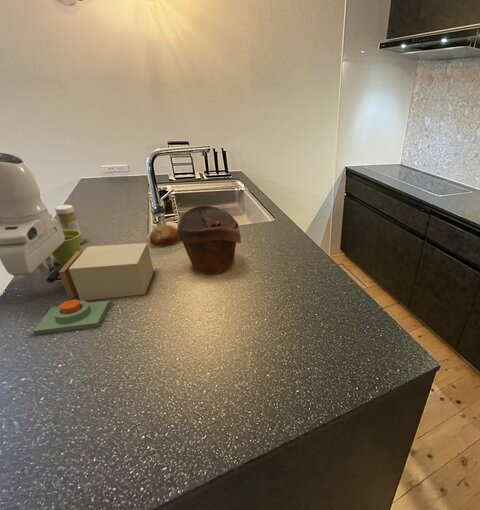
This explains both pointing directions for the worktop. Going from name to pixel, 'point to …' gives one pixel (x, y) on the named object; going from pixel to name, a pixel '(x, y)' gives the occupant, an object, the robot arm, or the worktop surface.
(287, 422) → the worktop surface
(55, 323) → the panel
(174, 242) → the bread roll
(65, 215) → the sprinkles bottle
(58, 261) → the plant pot
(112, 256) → the cabinet
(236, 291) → the worktop surface
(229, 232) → the chocolate muffin
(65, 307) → the button
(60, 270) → the drawer
